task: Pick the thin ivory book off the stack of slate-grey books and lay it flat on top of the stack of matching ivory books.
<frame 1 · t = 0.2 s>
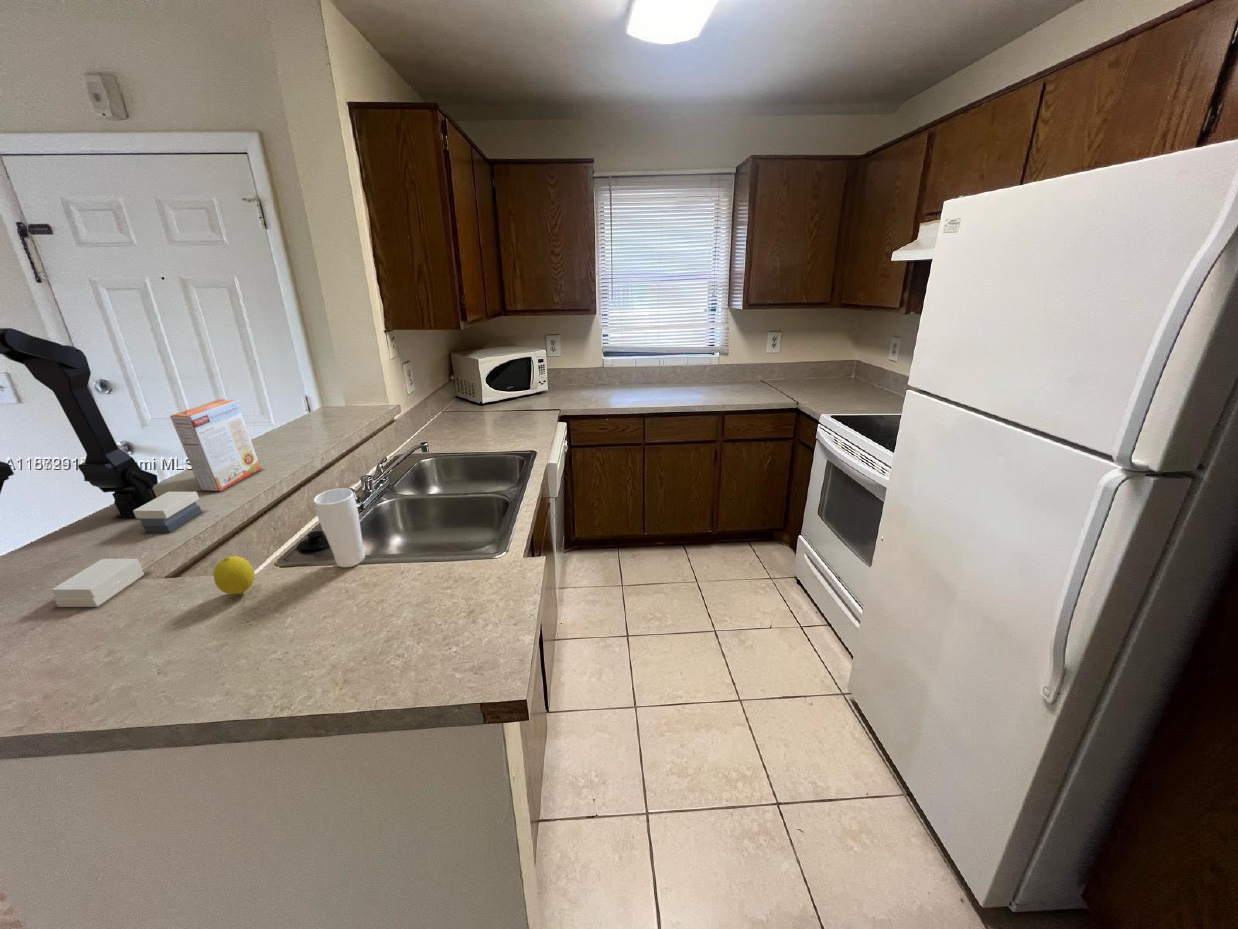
lemon: (242, 594, 87), on the counter
grey books: (175, 522, 109), on the counter
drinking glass: (351, 561, 96), on the counter
ivory books: (103, 590, 87), on the counter
ivory book: (169, 508, 107), point 4 cm above the counter, touching grey books
cracker box: (232, 480, 129), on the counter
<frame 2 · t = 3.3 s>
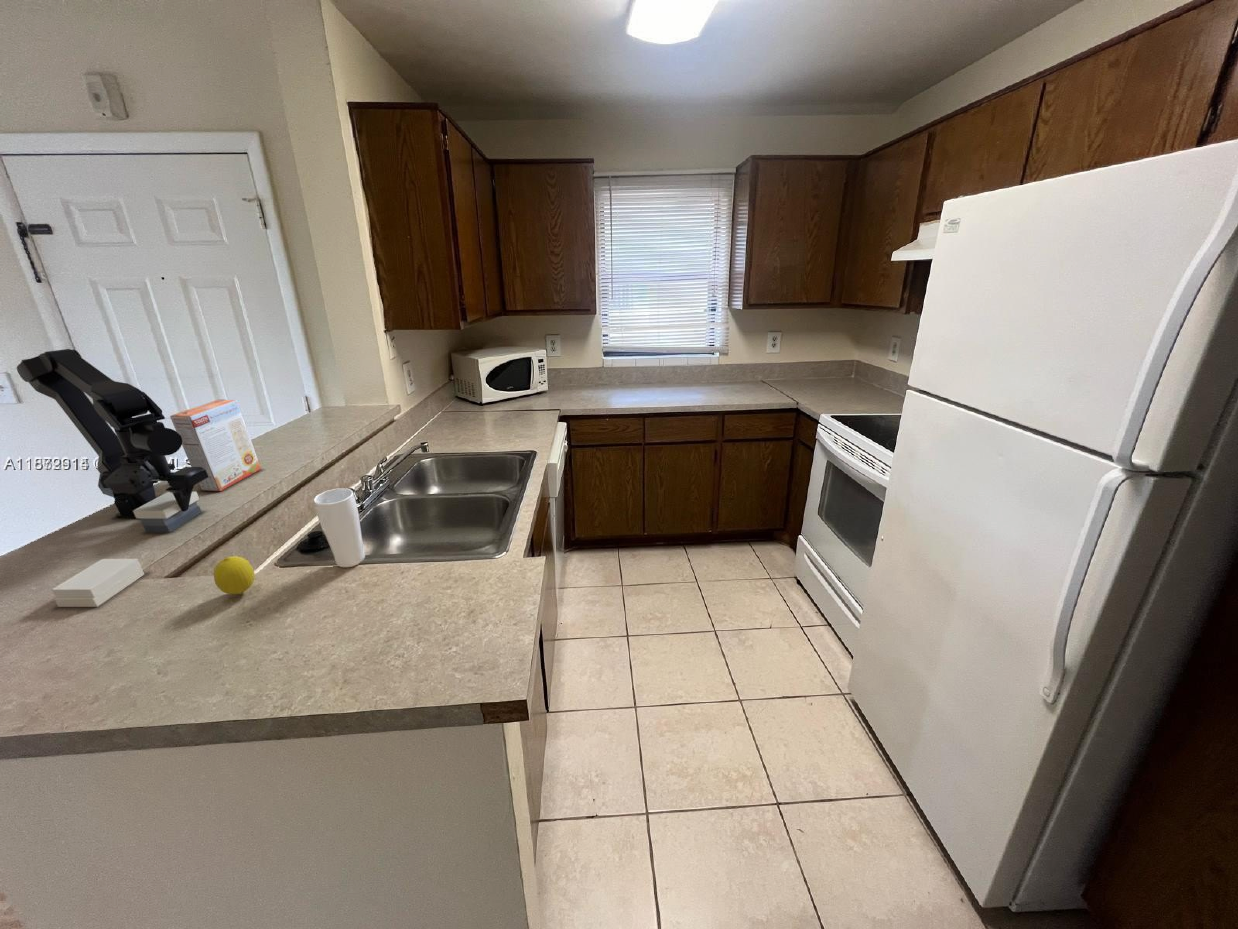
hand: (170, 510, 108), 3 cm above the counter, tool pointing down, fingers closed on ivory book, 6 cm apart
ivory book: (169, 508, 107), point 4 cm above the counter, touching grey books, gripper
everything else where it was.
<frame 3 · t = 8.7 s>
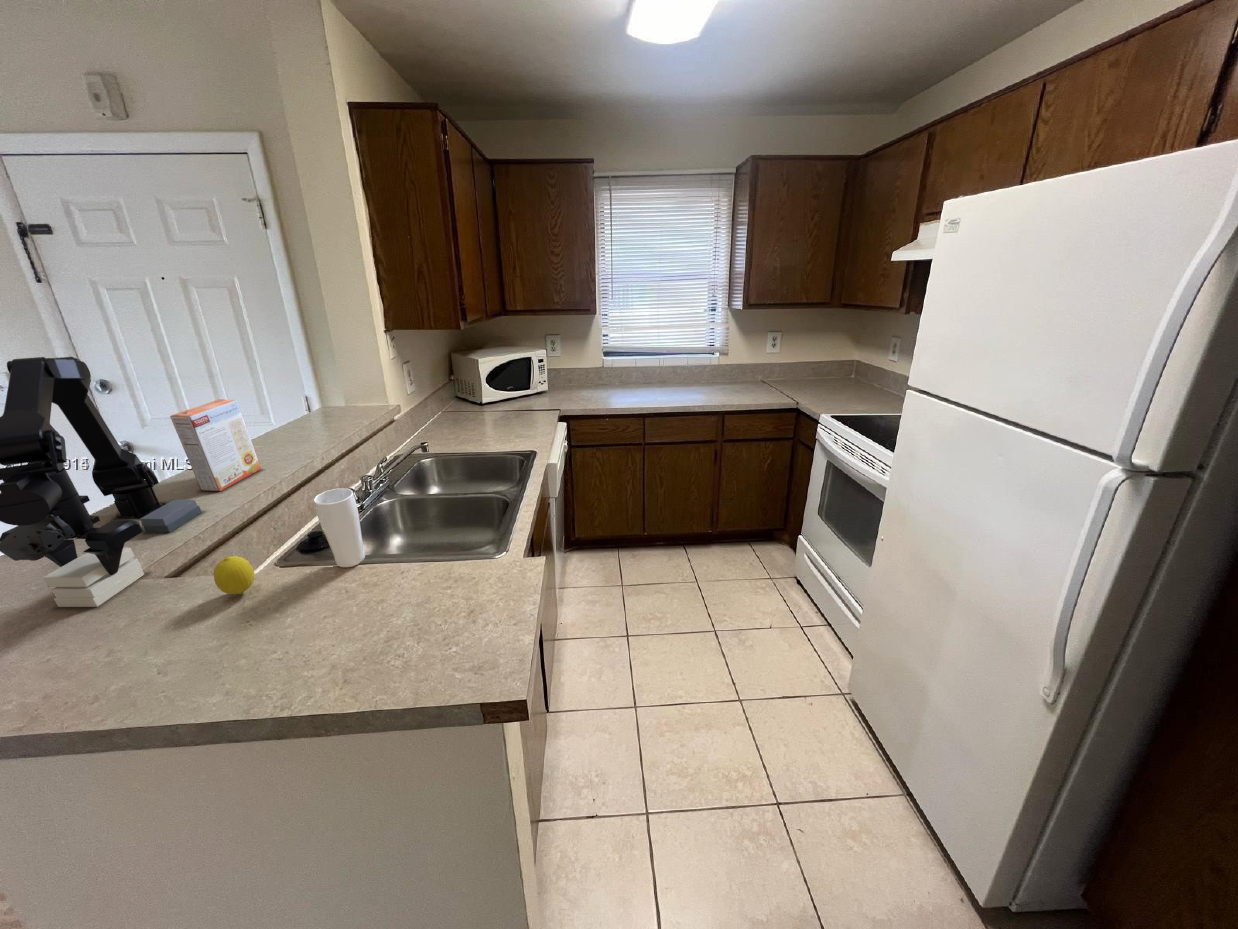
hand: (94, 573, 86), 4 cm above the counter, tool pointing down, fingers closed on ivory book, 6 cm apart
ivory book: (93, 570, 85), point 4 cm above the counter, touching gripper
everything else where it was.
when the fingers open (4 cm above the counter, at t = 13.5 s): ivory book drops 1 cm, resting on ivory books.
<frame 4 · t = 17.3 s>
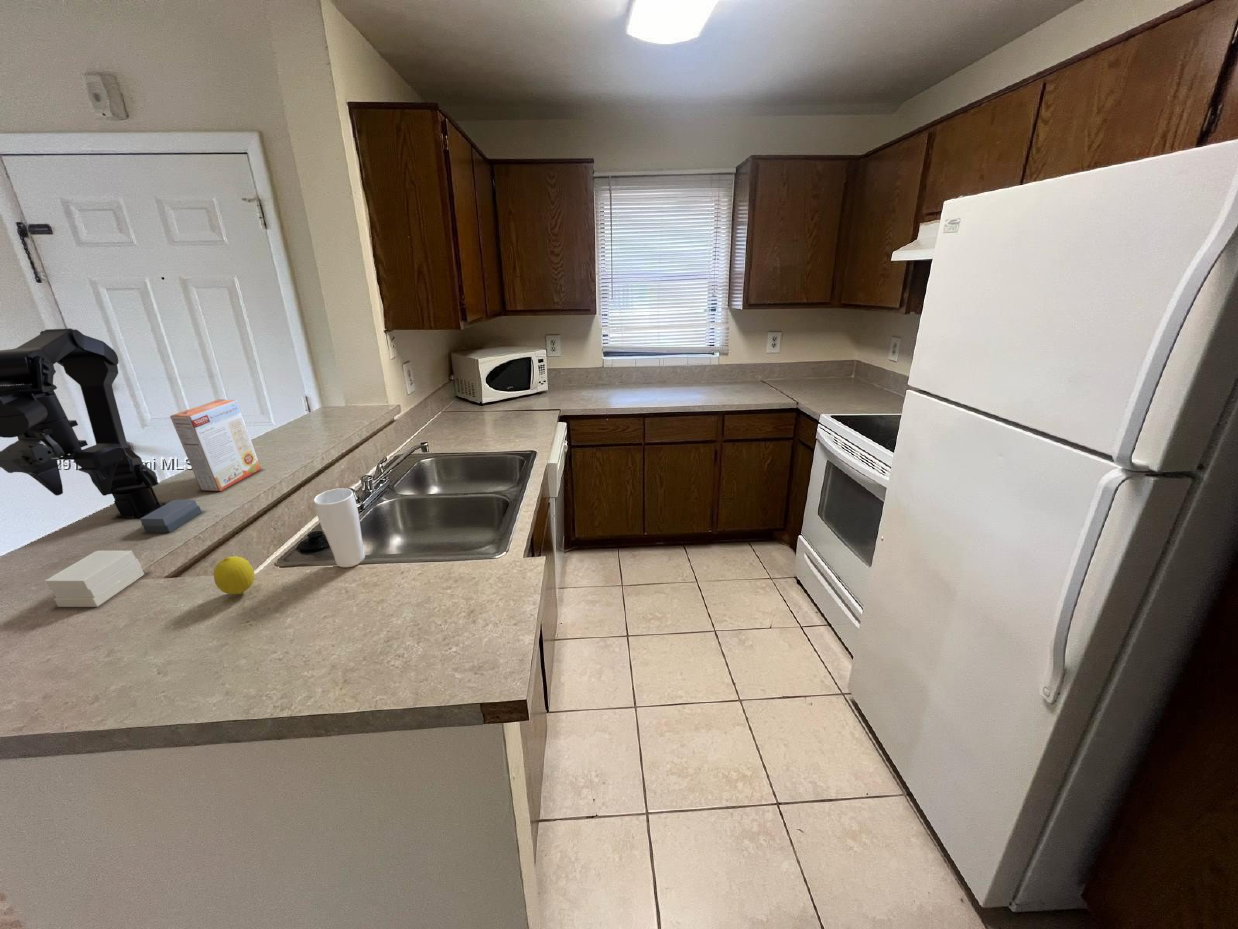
hand: (83, 494, 93), 13 cm above the counter, tool pointing down, fingers open, 9 cm apart
ivory book: (95, 574, 86), point 4 cm above the counter, touching ivory books
everything else where it was.
at the end: ivory book 0.0 cm off-centre on the ivory books, point 3.6 cm above the ivory books's base; ivory book tilted 0°; ivory book touching ivory books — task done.
